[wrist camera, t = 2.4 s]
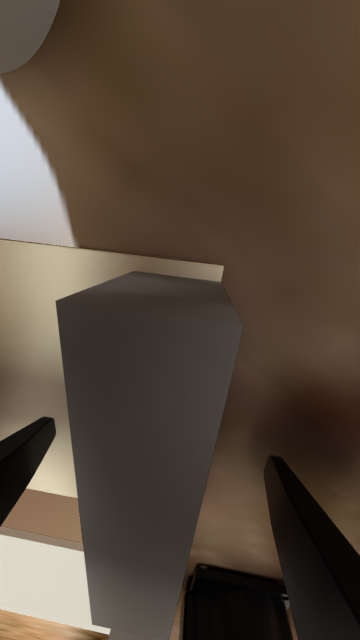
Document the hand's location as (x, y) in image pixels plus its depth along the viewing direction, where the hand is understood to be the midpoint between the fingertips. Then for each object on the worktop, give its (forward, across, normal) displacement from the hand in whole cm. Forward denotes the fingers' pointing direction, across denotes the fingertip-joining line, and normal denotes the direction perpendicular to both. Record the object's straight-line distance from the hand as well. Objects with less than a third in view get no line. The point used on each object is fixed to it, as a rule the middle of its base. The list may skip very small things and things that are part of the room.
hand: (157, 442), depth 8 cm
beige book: (+2, +8, 0) cm, 9 cm away
